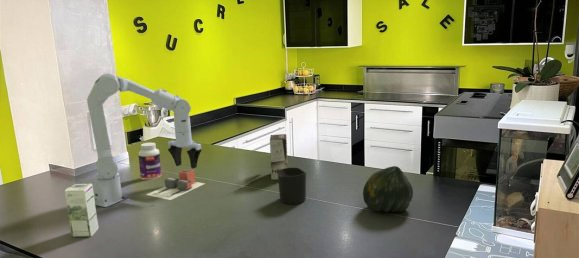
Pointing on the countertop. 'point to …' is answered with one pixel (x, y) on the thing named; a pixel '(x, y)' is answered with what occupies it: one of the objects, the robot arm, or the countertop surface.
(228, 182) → the countertop surface
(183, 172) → the cap
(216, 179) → the countertop surface
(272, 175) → the coffee box
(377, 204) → the squash
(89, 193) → the syrup box
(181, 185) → the breaker
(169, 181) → the block
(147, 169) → the pill bottle
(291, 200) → the pen holder
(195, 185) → the board
